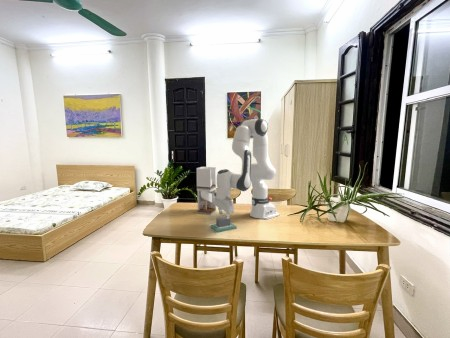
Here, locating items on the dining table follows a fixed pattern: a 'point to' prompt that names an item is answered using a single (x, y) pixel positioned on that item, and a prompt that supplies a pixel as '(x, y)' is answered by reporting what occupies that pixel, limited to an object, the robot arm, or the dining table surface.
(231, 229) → the header board
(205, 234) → the dining table surface
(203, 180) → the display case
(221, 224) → the block
